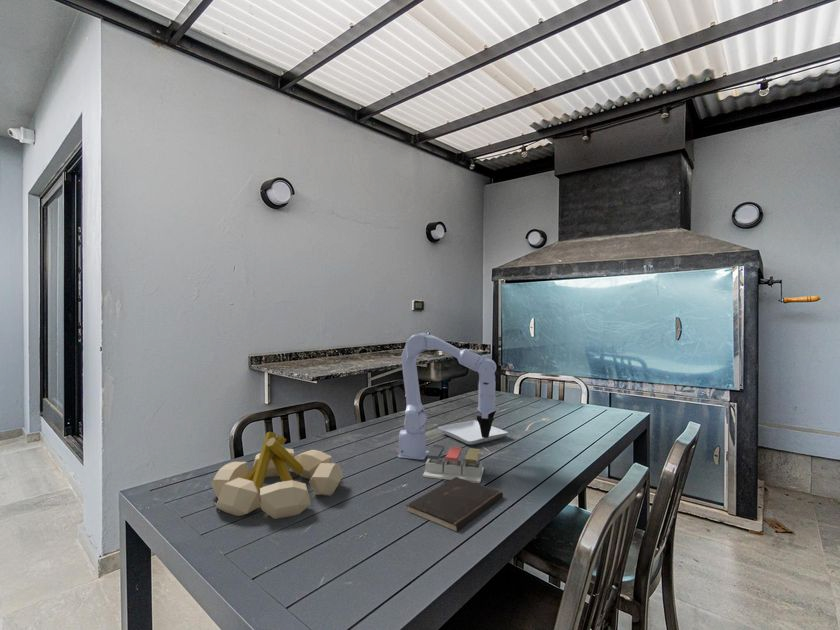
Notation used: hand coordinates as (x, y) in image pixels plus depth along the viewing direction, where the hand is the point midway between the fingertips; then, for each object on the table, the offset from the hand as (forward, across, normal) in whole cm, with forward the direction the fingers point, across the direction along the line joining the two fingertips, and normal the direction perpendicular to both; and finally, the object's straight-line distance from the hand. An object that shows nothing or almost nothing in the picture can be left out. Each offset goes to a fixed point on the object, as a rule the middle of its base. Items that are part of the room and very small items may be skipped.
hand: (486, 434), depth 143 cm
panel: (+10, -11, +9) cm, 18 cm away
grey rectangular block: (+7, -11, +15) cm, 20 cm away
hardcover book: (+11, -32, +5) cm, 34 cm away
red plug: (+7, -11, +9) cm, 16 cm away
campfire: (+11, -37, +56) cm, 68 cm away
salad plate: (+11, +28, +8) cm, 31 cm away
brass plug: (+7, -11, +3) cm, 14 cm away
